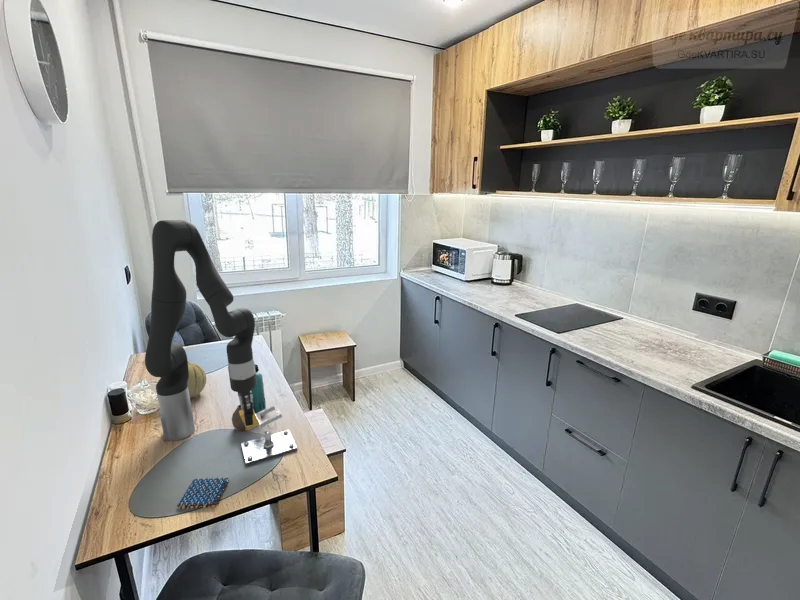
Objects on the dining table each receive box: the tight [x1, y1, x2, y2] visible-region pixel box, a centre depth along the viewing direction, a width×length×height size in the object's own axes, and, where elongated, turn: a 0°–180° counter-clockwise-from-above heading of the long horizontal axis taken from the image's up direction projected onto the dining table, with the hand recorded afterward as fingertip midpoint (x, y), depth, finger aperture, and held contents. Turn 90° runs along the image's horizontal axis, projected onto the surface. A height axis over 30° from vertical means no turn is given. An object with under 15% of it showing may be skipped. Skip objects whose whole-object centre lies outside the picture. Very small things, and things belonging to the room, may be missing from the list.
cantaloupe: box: [187, 361, 207, 399], centre depth 156 cm, size 15×15×15 cm
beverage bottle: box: [251, 363, 267, 414], centre depth 144 cm, size 6×7×20 cm
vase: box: [231, 404, 247, 432], centre depth 137 cm, size 7×7×9 cm
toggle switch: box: [240, 429, 298, 466], centre depth 127 cm, size 16×11×6 cm
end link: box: [239, 403, 283, 431], centre depth 123 cm, size 11×7×6 cm, turn 119°
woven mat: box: [176, 476, 230, 510], centre depth 108 cm, size 10×11×2 cm
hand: (248, 421), depth 122 cm, fingers closed on end link, 3 cm apart
